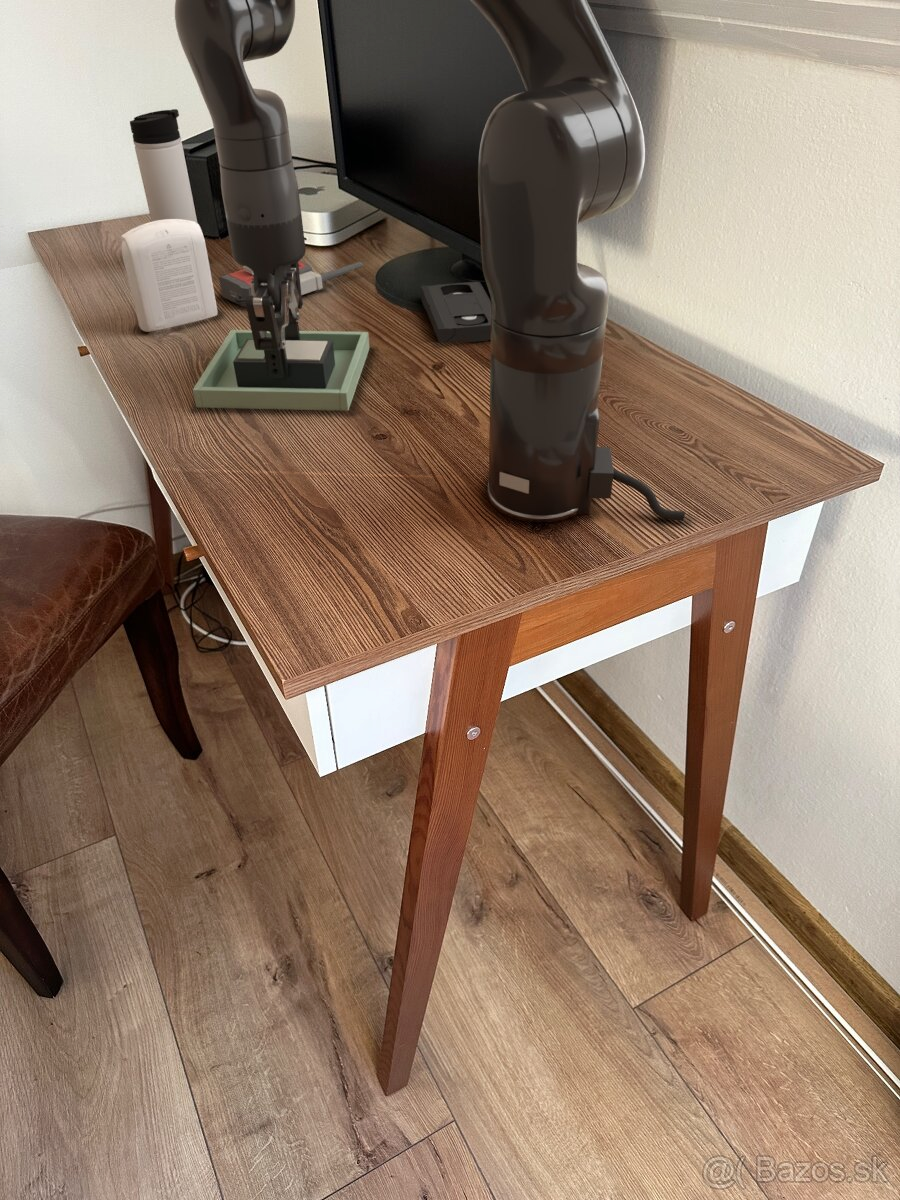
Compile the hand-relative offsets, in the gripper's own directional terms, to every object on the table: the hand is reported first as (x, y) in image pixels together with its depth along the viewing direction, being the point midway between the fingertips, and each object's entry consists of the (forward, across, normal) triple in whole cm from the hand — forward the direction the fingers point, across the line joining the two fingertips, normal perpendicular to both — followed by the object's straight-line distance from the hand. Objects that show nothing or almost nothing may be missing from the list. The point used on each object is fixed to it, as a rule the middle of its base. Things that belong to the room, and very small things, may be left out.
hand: (285, 365), depth 100 cm
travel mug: (+2, +36, +24) cm, 43 cm away
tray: (+2, 0, 0) cm, 2 cm away
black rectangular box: (+1, 0, 0) cm, 1 cm away
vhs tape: (+2, +18, -18) cm, 26 cm away
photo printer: (+2, +16, +18) cm, 23 cm away
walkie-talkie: (+2, +28, +6) cm, 28 cm away
